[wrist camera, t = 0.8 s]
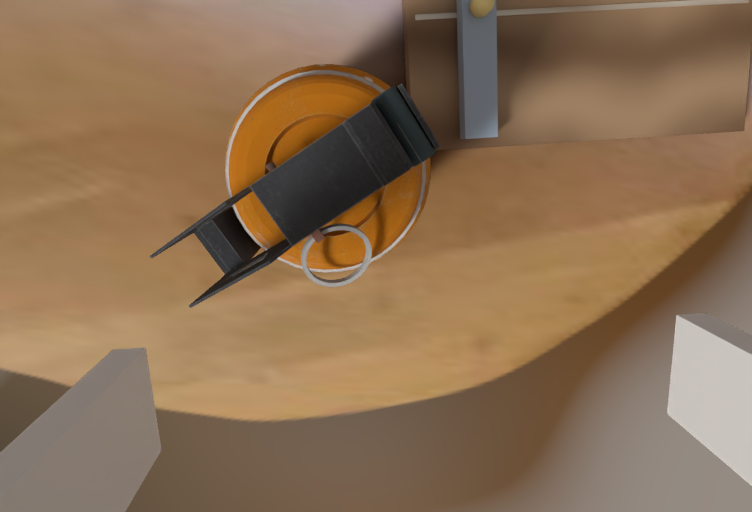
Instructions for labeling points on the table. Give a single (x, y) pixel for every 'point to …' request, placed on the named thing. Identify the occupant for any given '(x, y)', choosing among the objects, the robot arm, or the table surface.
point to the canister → (318, 176)
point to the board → (589, 69)
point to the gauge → (477, 68)
